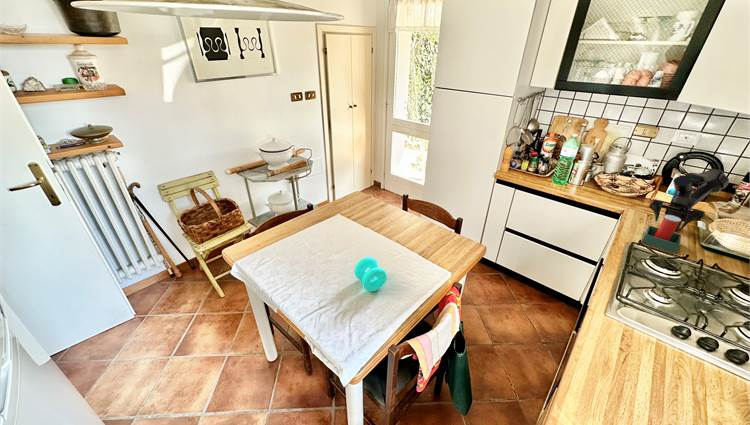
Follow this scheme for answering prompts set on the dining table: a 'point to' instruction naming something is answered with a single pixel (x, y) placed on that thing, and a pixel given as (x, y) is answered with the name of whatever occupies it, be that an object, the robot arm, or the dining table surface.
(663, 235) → the chip canister
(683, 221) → the robot arm
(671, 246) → the bin
